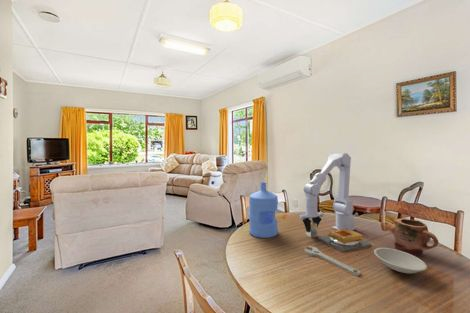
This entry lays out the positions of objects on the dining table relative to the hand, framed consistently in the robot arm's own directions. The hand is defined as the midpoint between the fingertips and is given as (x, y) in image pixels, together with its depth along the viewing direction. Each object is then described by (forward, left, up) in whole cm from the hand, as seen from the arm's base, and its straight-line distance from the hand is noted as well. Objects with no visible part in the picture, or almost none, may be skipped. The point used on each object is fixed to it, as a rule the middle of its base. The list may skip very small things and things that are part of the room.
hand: (311, 231), depth 121 cm
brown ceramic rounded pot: (-28, +33, -3) cm, 43 cm away
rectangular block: (0, 0, -2) cm, 2 cm away
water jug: (+22, -13, -3) cm, 26 cm away
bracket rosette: (-9, +13, -2) cm, 16 cm away
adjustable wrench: (+12, +24, -3) cm, 27 cm away
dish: (-8, +40, -3) cm, 41 cm away
